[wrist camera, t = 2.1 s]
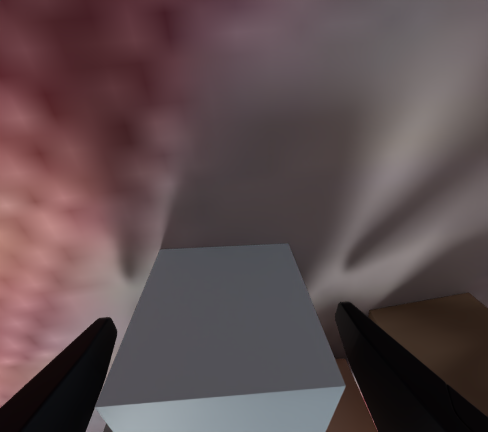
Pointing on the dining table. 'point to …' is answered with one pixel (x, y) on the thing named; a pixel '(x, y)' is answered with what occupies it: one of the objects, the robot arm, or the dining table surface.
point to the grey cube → (223, 348)
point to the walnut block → (445, 340)
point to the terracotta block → (350, 406)
